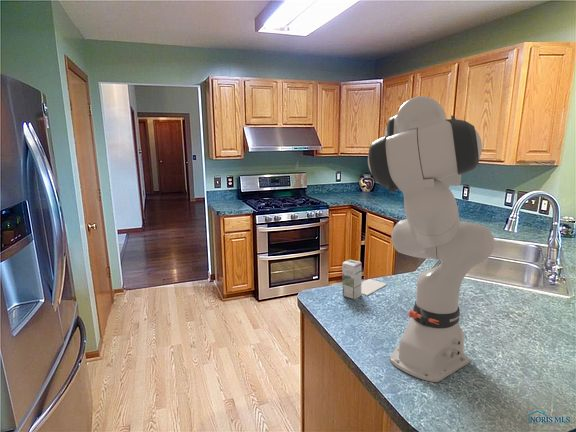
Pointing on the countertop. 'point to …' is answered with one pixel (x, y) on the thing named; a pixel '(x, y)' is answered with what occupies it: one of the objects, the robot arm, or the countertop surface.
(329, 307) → the countertop surface
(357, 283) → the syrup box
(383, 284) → the cream flat rectangular slab
